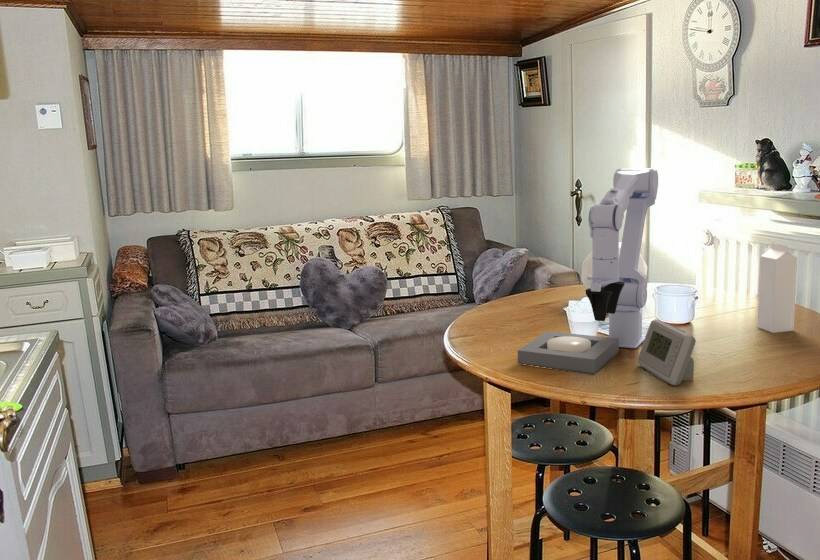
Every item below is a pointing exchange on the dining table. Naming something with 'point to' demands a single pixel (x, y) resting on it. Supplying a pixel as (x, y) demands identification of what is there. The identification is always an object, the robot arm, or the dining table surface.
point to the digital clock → (667, 353)
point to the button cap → (569, 344)
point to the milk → (777, 289)
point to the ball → (588, 268)
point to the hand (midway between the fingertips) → (605, 316)
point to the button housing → (569, 354)
